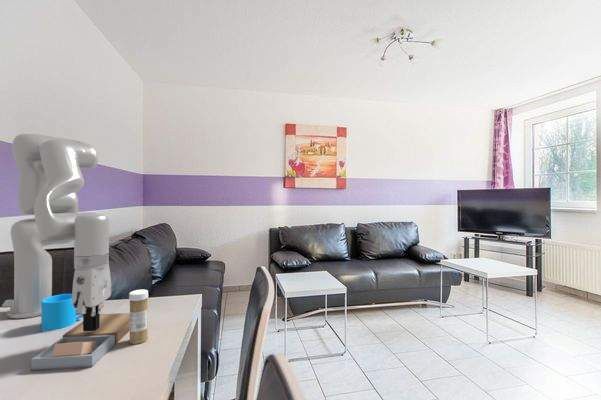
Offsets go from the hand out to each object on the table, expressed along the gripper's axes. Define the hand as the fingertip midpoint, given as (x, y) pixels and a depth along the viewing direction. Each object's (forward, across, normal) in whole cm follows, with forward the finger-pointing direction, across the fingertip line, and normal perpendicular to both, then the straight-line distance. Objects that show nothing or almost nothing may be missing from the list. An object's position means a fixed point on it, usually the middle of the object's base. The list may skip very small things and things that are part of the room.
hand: (91, 329), depth 78 cm
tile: (0, -7, -1) cm, 7 cm away
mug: (+4, +15, +15) cm, 22 cm away
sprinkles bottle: (+4, +1, -12) cm, 12 cm away
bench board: (+4, +6, 0) cm, 7 cm away
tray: (+4, -6, 0) cm, 7 cm away
